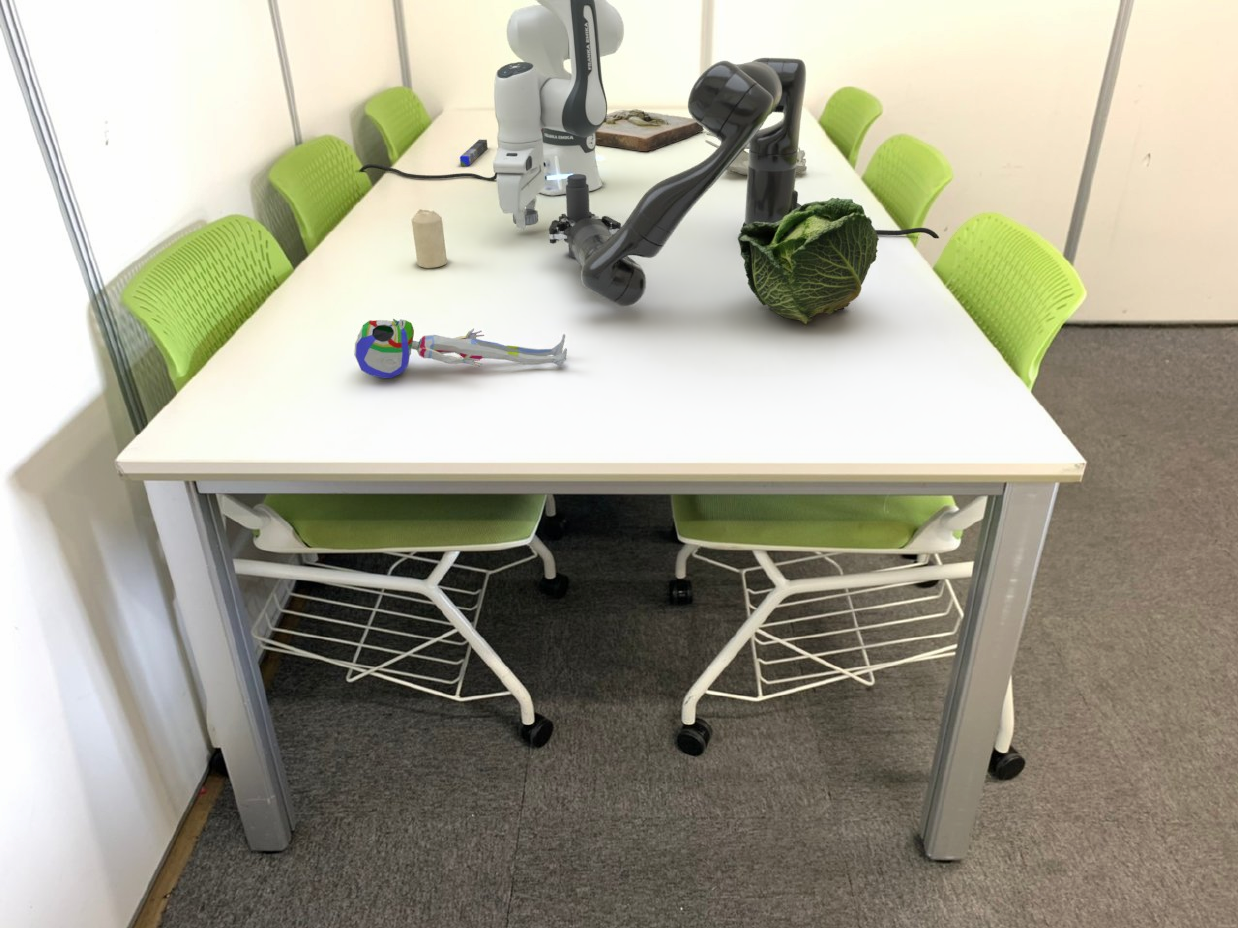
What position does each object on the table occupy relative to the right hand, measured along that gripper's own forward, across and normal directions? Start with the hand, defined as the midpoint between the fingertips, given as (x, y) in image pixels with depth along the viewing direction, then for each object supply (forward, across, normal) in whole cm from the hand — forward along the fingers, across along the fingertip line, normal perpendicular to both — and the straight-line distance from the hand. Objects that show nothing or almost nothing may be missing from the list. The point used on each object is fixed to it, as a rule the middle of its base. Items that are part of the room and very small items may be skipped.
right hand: (575, 218), depth 172 cm
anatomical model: (+45, -54, +6) cm, 70 cm away
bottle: (-3, 0, +6) cm, 7 cm away
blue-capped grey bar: (+81, +13, +6) cm, 83 cm away
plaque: (+94, -34, +6) cm, 100 cm away
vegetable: (-40, -30, +6) cm, 51 cm away
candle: (0, +28, +6) cm, 29 cm away
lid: (+13, +8, +2) cm, 16 cm away
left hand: (+13, +8, +4) cm, 16 cm away
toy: (-47, +26, +6) cm, 54 cm away
